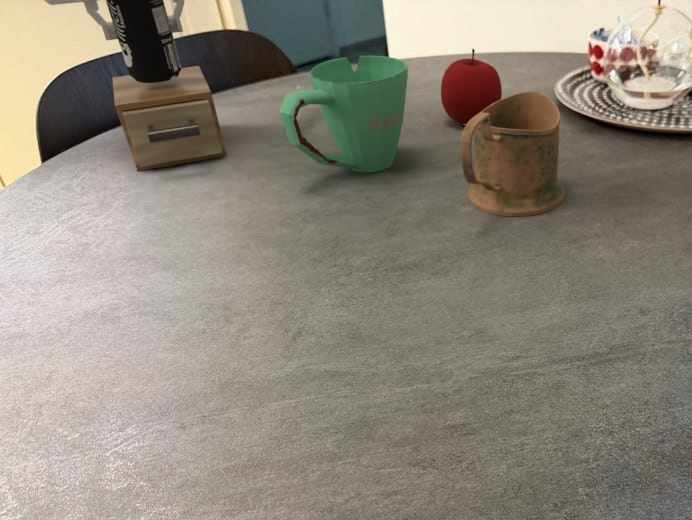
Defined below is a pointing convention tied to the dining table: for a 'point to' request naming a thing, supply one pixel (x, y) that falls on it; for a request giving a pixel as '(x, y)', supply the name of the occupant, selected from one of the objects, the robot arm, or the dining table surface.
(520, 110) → the mug
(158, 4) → the beverage can
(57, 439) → the dining table surface
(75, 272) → the dining table surface
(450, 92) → the apple
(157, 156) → the drawer
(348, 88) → the mug
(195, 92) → the cabinet
